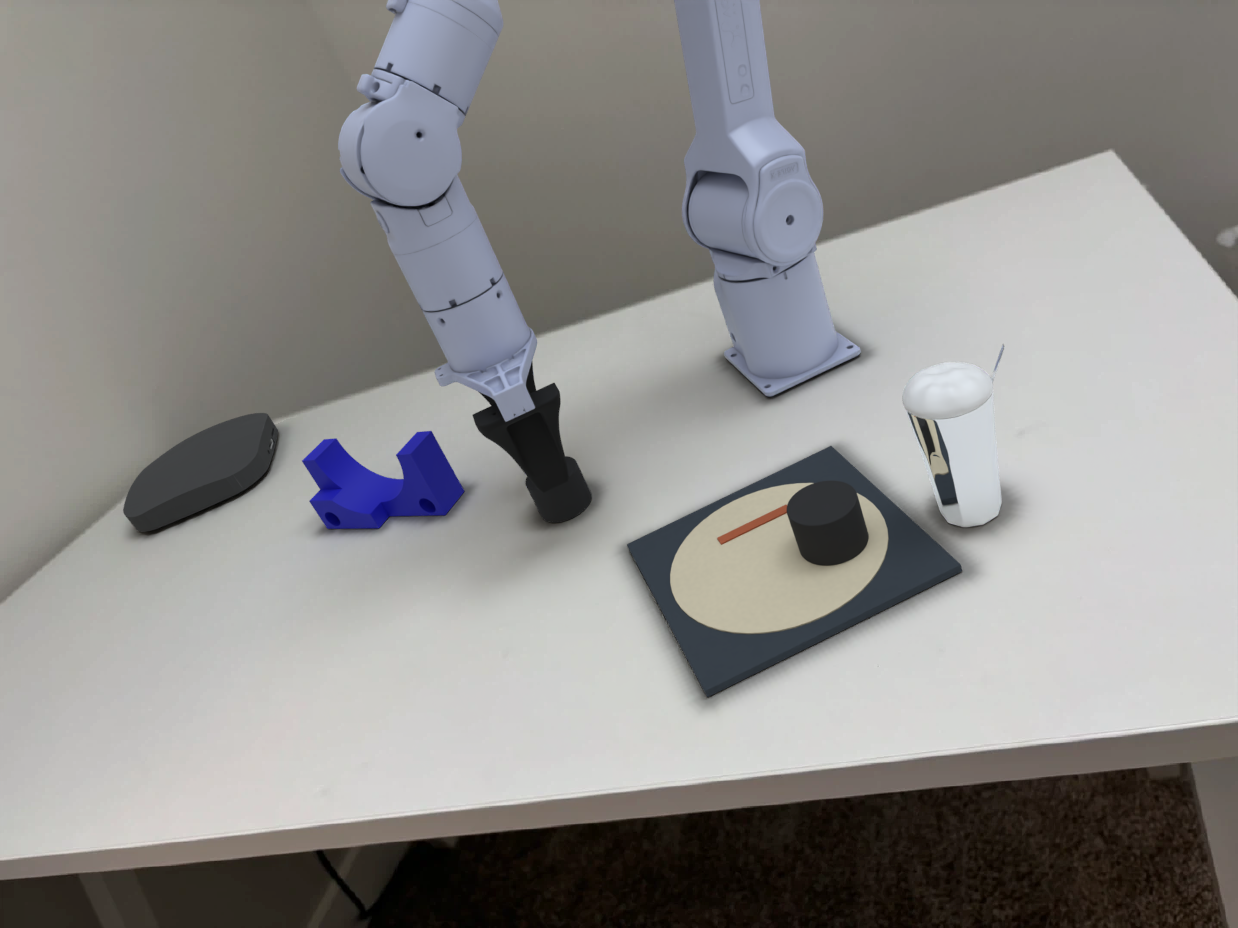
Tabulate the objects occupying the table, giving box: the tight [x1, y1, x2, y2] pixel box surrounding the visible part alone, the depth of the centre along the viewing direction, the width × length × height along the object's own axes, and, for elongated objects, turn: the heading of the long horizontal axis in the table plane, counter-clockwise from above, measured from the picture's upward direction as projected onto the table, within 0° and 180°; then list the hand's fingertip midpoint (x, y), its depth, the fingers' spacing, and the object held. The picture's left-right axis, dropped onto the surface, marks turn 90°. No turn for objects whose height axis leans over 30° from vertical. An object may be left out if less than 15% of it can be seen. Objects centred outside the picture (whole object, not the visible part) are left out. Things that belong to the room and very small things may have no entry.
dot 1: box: [524, 455, 593, 524], centre depth 69 cm, size 4×4×3 cm
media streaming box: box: [122, 412, 279, 533], centre depth 97 cm, size 15×15×3 cm
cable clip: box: [301, 430, 465, 530], centre depth 77 cm, size 12×4×6 cm, turn 65°
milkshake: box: [901, 343, 1005, 528], centre depth 51 cm, size 4×5×10 cm
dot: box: [786, 480, 869, 566], centre depth 54 cm, size 4×4×3 cm
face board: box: [626, 445, 963, 698], centre depth 56 cm, size 15×15×1 cm
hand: (543, 460), depth 67 cm, fingers open, 7 cm apart
